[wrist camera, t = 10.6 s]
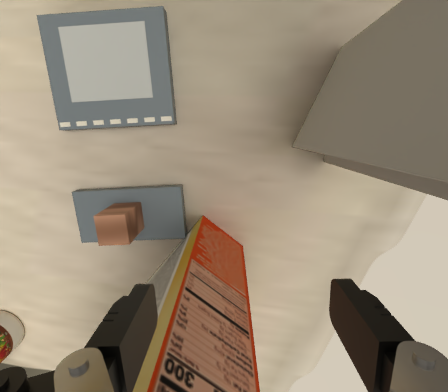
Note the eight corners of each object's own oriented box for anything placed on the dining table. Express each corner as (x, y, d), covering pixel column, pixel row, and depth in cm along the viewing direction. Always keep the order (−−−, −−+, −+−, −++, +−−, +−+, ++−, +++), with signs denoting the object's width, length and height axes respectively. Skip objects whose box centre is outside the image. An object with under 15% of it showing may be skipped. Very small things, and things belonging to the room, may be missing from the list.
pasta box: (158, 338, 46) (34, 698, 17) (121, 312, 45) (-83, 650, 16) (242, 246, 41) (274, 519, 12) (203, 215, 40) (133, 434, 11)
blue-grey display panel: (46, 20, 34) (35, 14, 32) (166, 12, 34) (162, 5, 32) (67, 130, 37) (58, 130, 36) (176, 124, 37) (174, 123, 35)
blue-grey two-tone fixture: (77, 189, 39) (43, 202, 32) (182, 184, 39) (171, 196, 32) (87, 238, 41) (56, 261, 34) (186, 234, 41) (177, 256, 33)
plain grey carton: (325, 162, 38) (649, 263, 9) (291, 147, 37) (512, 198, 8) (377, 65, 35) (1174, -297, 5) (341, 46, 34) (994, -453, 5)
